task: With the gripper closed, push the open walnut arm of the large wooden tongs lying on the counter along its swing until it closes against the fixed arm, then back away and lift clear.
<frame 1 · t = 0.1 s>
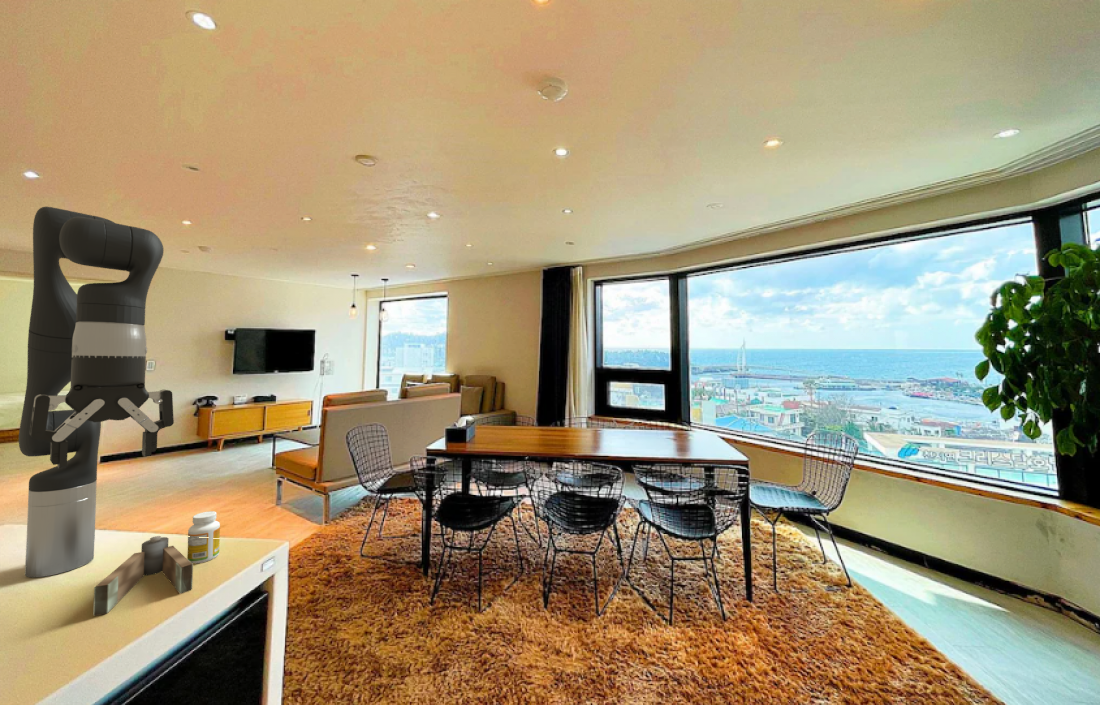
hand: (106, 461, 60), 29 cm above the kitchen counter, tool pointing down, fingers open, 8 cm apart
supplement bottle: (203, 559, 88), on the kitchen counter
tong arm: (121, 581, 74), point 3 cm above the kitchen counter, hinge at -30.0°
tongs frame: (154, 570, 83), on the kitchen counter
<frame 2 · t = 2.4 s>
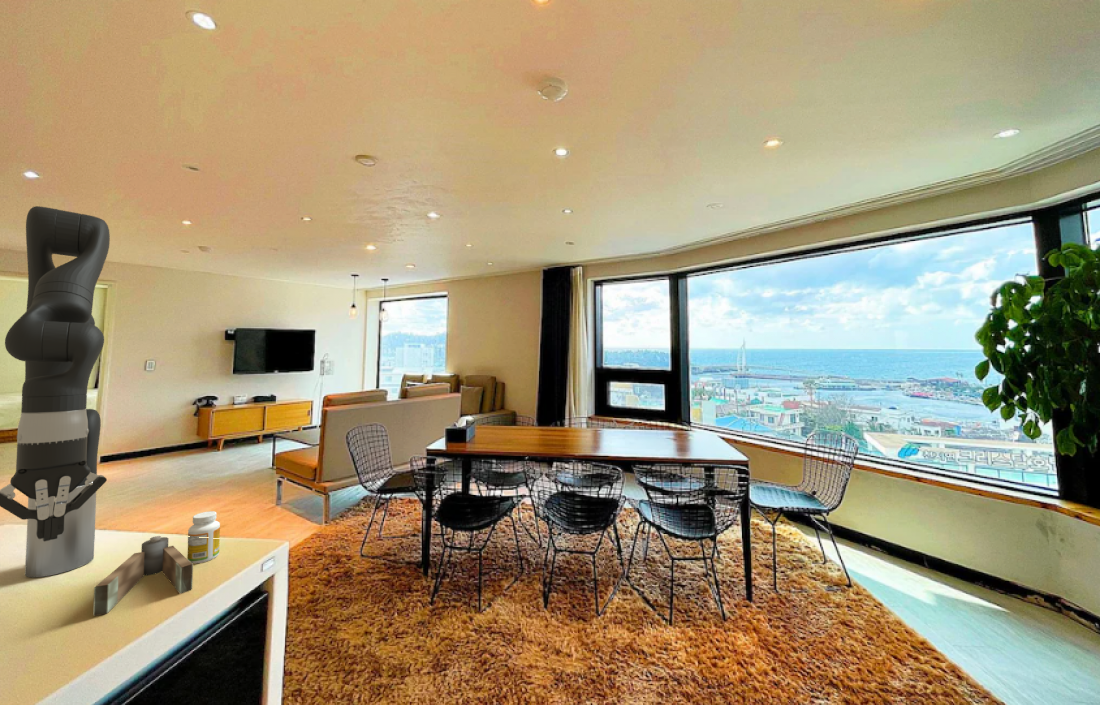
hand: (49, 539, 67), 14 cm above the kitchen counter, tool pointing down, fingers closed
nothing on the kitchen counter moved.
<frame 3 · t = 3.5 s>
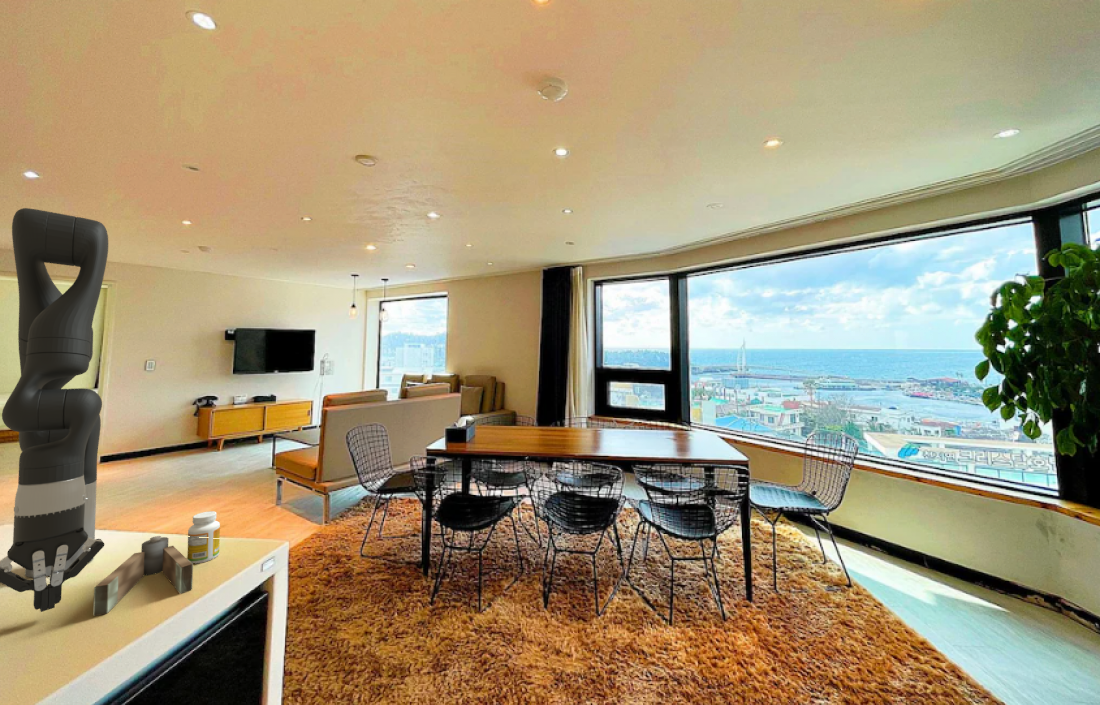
hand: (46, 608, 67), 2 cm above the kitchen counter, tool pointing down, fingers closed
nothing on the kitchen counter moved.
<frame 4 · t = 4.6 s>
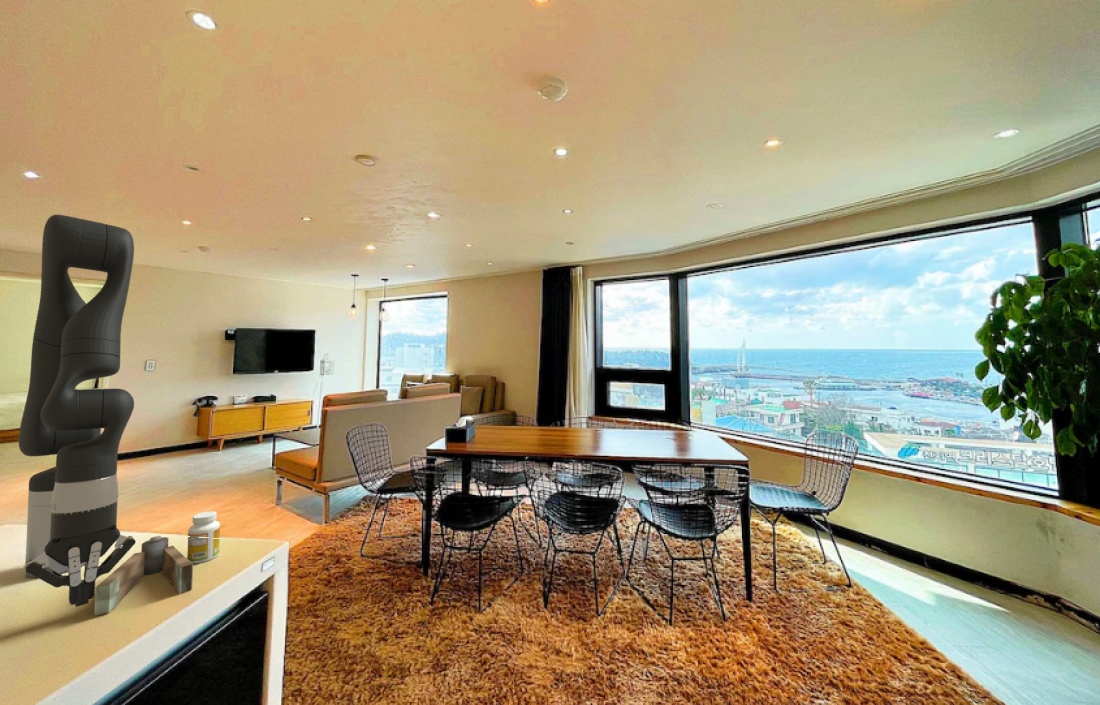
hand: (81, 603, 69), 2 cm above the kitchen counter, tool pointing down, fingers closed
tong arm: (122, 581, 74), point 3 cm above the kitchen counter, hinge at -29.2°, touching gripper
everything else where it was.
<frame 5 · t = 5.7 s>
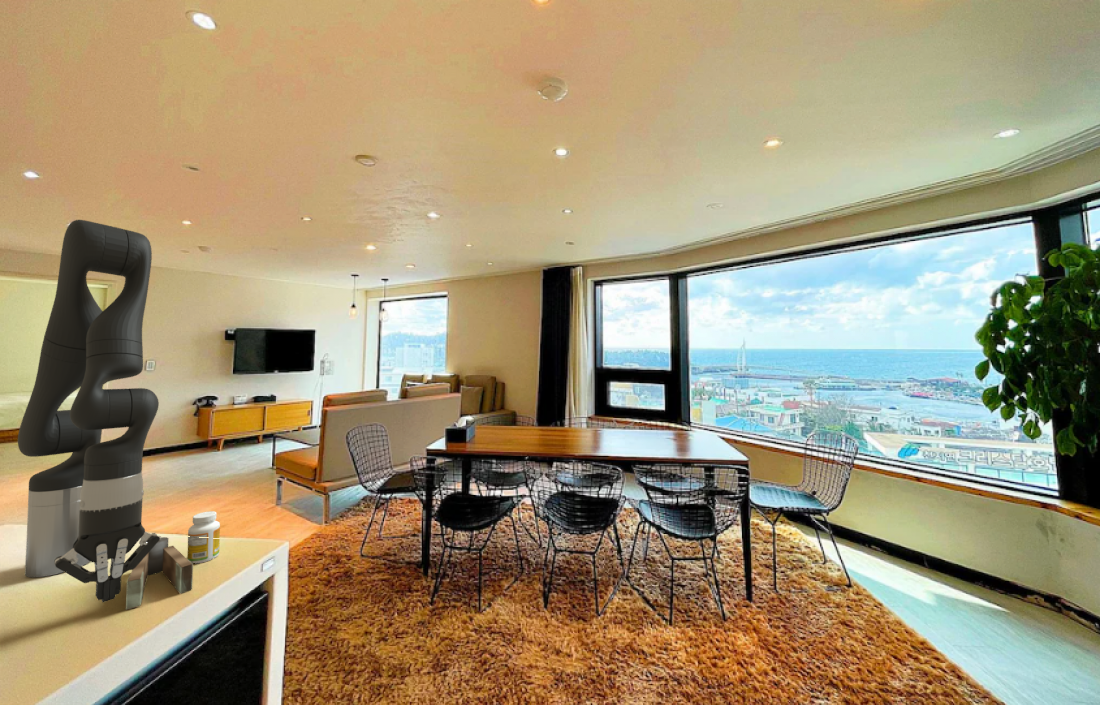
hand: (107, 599, 70), 2 cm above the kitchen counter, tool pointing down, fingers closed
tong arm: (138, 578, 75), point 3 cm above the kitchen counter, hinge at -14.7°, touching gripper
everything else where it was.
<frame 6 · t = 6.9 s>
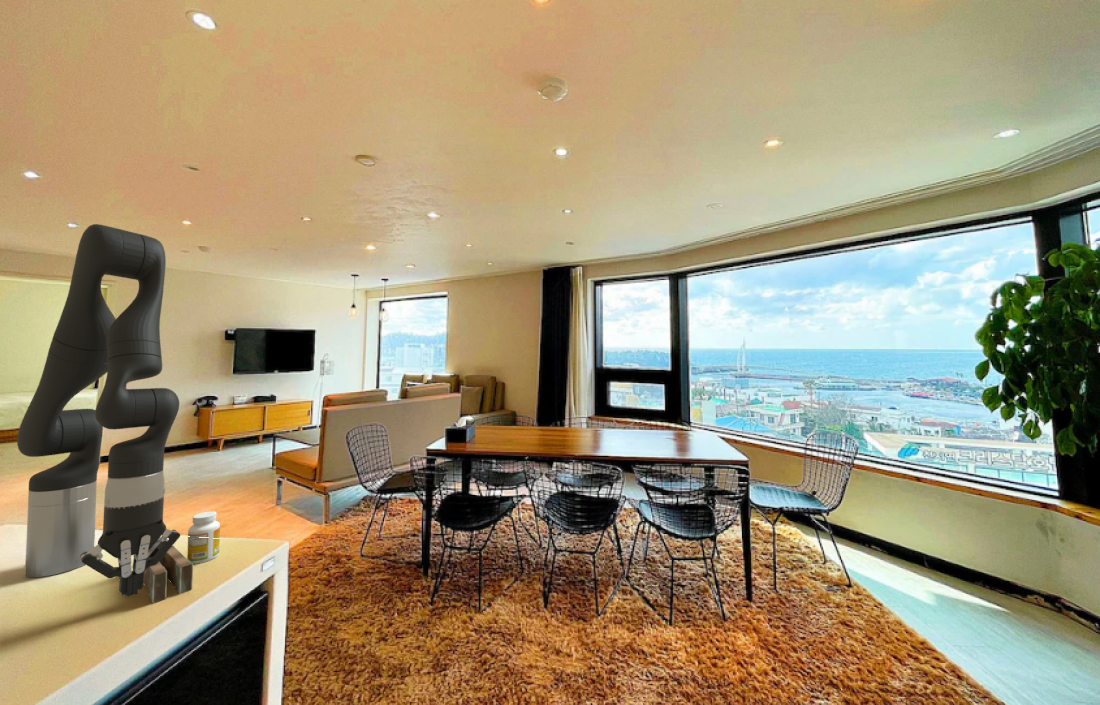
hand: (130, 594, 72), 2 cm above the kitchen counter, tool pointing down, fingers closed
tong arm: (153, 575, 76), point 3 cm above the kitchen counter, hinge at -2.5°, touching gripper
everything else where it was.
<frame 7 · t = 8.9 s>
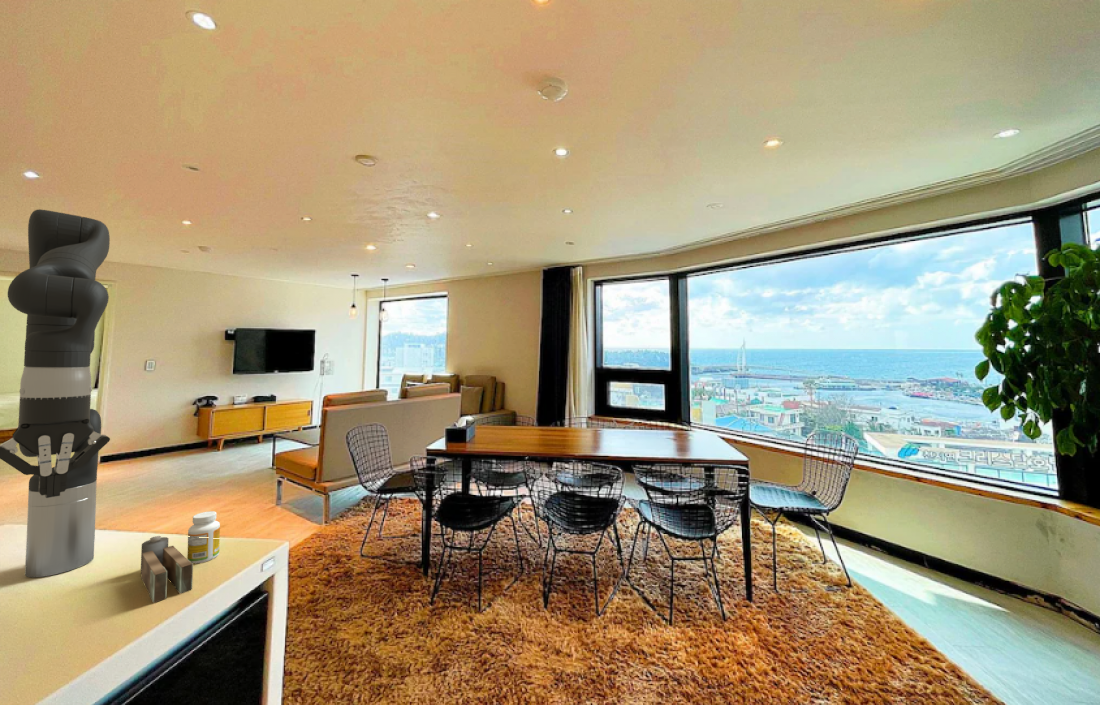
hand: (52, 496, 67), 21 cm above the kitchen counter, tool pointing down, fingers closed
tong arm: (153, 575, 76), point 3 cm above the kitchen counter, hinge at -2.4°
everything else where it was.
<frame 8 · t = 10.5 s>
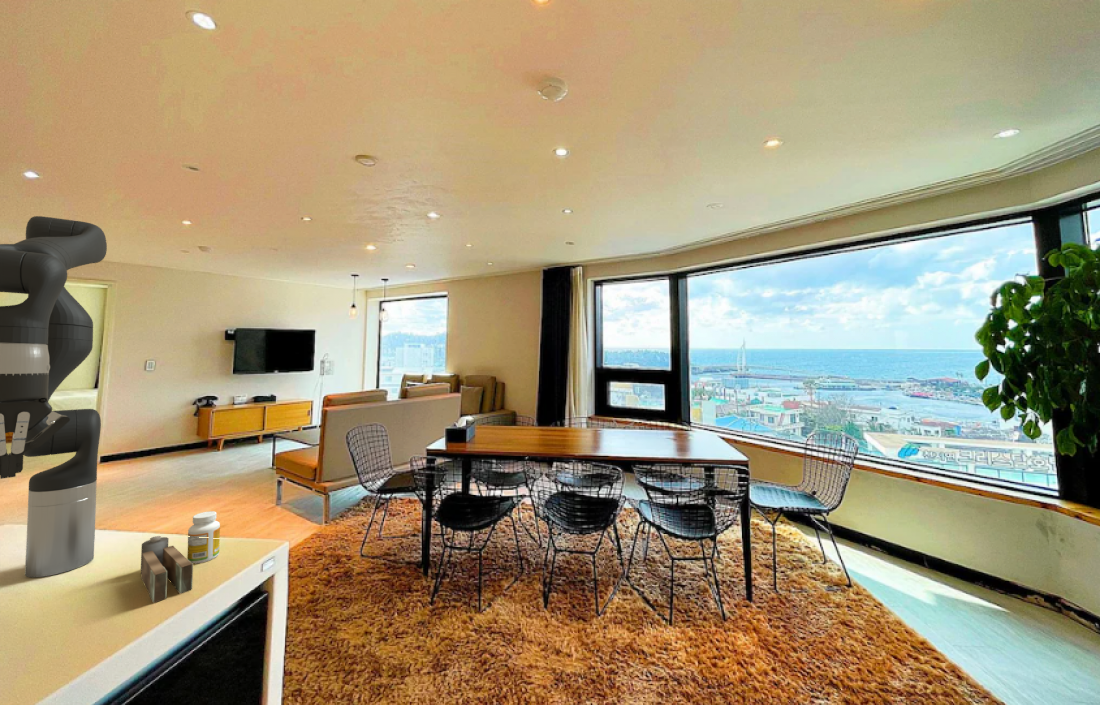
hand: (7, 476, 65), 25 cm above the kitchen counter, tool pointing down, fingers closed
nothing on the kitchen counter moved.
at the end: tong arm at -2° (first picture: -30°); supplement bottle moved 0.2 cm from its start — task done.
